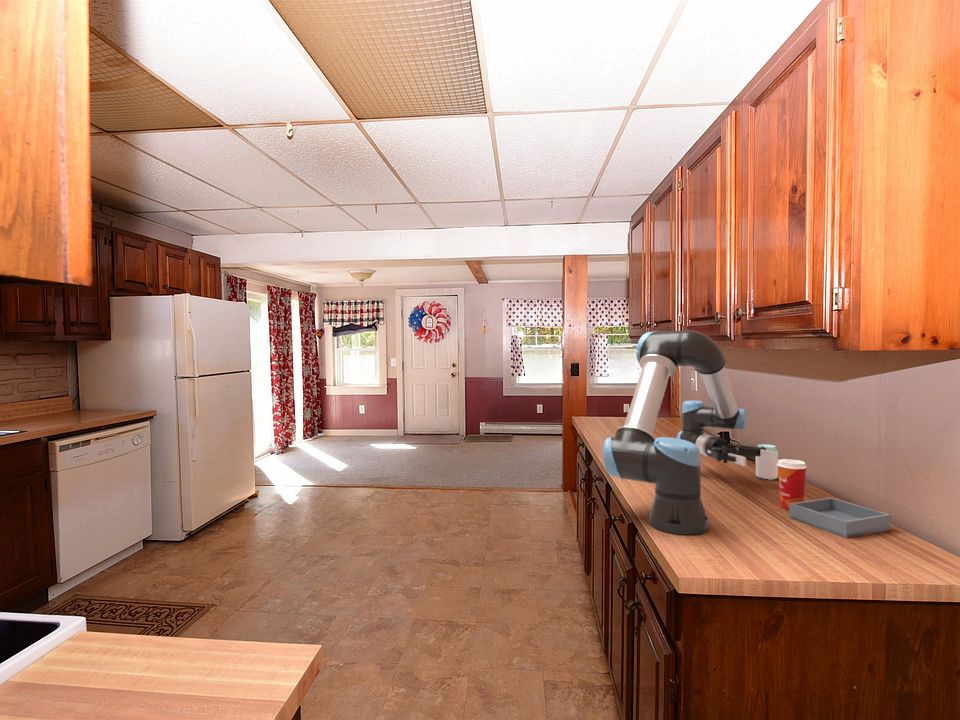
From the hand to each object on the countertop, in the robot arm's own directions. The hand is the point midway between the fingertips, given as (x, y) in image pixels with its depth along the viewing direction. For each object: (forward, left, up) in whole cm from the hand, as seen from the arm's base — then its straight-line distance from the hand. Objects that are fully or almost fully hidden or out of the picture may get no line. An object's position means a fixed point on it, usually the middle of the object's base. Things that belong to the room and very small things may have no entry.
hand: (762, 459), depth 157 cm
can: (+21, +17, -12) cm, 29 cm away
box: (0, -25, -12) cm, 28 cm away
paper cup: (0, -11, -12) cm, 17 cm away
